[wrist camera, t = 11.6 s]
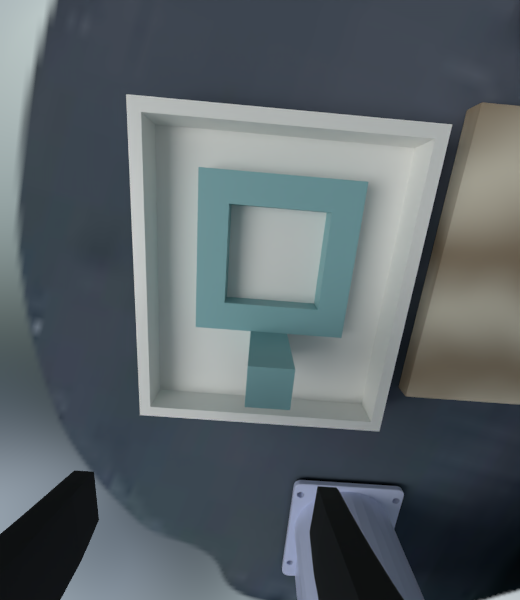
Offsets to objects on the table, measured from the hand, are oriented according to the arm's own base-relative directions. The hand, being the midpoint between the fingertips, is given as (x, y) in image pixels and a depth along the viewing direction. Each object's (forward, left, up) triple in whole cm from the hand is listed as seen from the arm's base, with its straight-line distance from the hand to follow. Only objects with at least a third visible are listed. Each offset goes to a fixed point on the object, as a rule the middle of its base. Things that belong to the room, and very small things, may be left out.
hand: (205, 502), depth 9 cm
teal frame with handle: (+6, -2, -9) cm, 11 cm away
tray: (+6, -2, -9) cm, 11 cm away
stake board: (+7, -17, -9) cm, 21 cm away
